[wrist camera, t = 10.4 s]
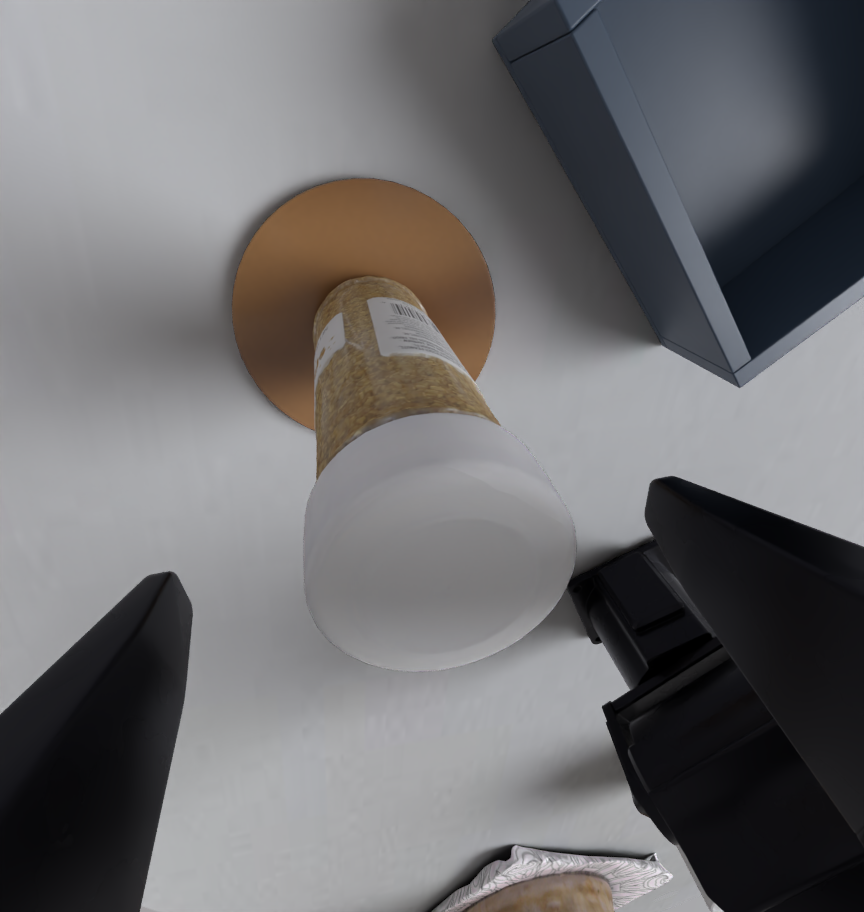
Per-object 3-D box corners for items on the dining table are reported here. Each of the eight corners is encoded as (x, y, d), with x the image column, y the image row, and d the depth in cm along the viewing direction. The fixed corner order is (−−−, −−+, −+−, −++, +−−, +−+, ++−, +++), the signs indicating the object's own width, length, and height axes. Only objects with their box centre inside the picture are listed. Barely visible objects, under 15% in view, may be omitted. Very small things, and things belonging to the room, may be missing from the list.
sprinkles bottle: (287, 320, 18) (232, 587, 7) (388, 246, 18) (511, 407, 6) (360, 409, 21) (410, 716, 9) (452, 348, 20) (624, 597, 9)
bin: (906, 152, 20) (1060, 151, 16) (662, 346, 22) (740, 388, 18) (832, -312, 13) (1070, -529, 9) (490, 40, 15) (553, -3, 11)
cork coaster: (525, 371, 22) (528, 374, 21) (325, 473, 22) (325, 477, 22) (430, 119, 16) (432, 119, 16) (171, 265, 17) (168, 267, 17)
